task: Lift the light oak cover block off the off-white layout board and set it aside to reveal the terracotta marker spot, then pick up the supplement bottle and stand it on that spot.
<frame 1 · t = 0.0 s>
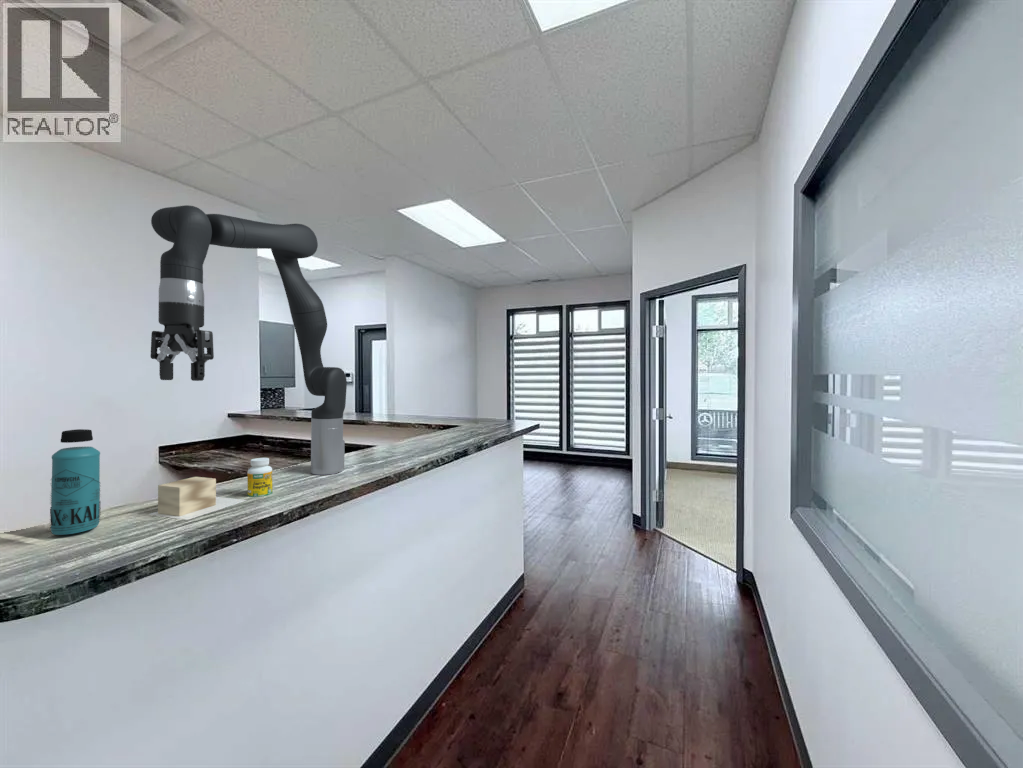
hand: (181, 380, 87), 29 cm above the countertop, tool pointing down, fingers open, 8 cm apart
layout board: (200, 510, 92), on the countertop
beverage bottle: (76, 537, 77), on the countertop
cover block: (187, 508, 91), point 1 cm above the countertop, touching layout board
supplement bottle: (260, 498, 103), on the countertop
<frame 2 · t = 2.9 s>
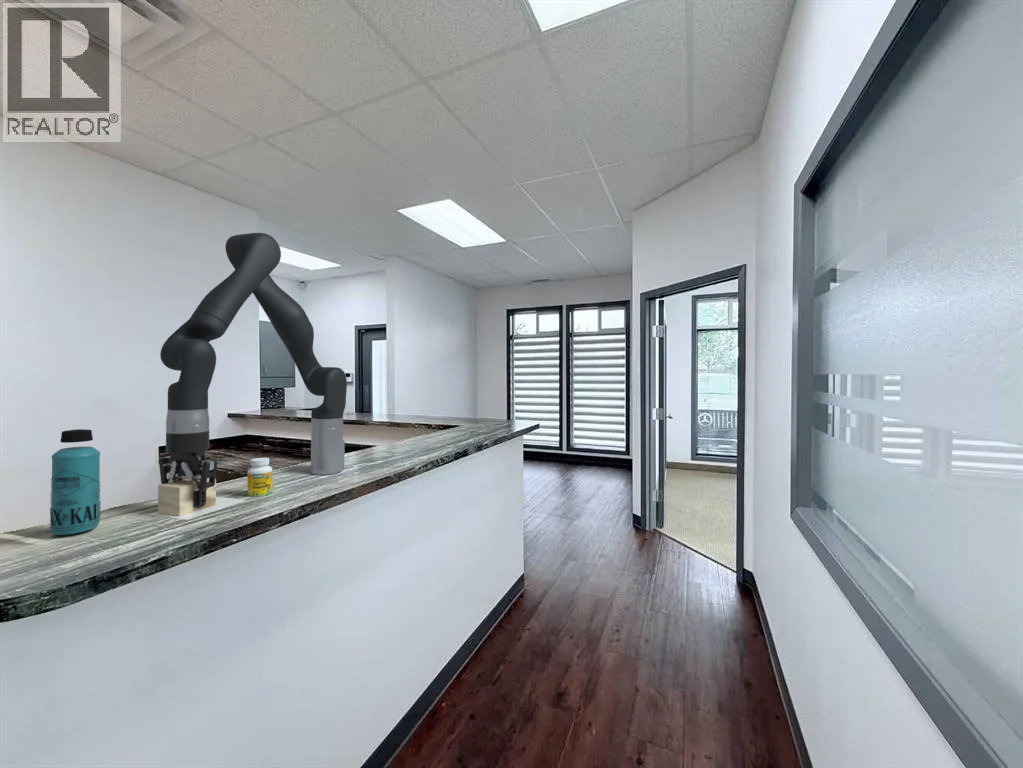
hand: (187, 505, 91), 2 cm above the countertop, tool pointing down, fingers closed on cover block, 6 cm apart
cover block: (187, 508, 91), point 1 cm above the countertop, touching gripper, layout board
everything else where it was.
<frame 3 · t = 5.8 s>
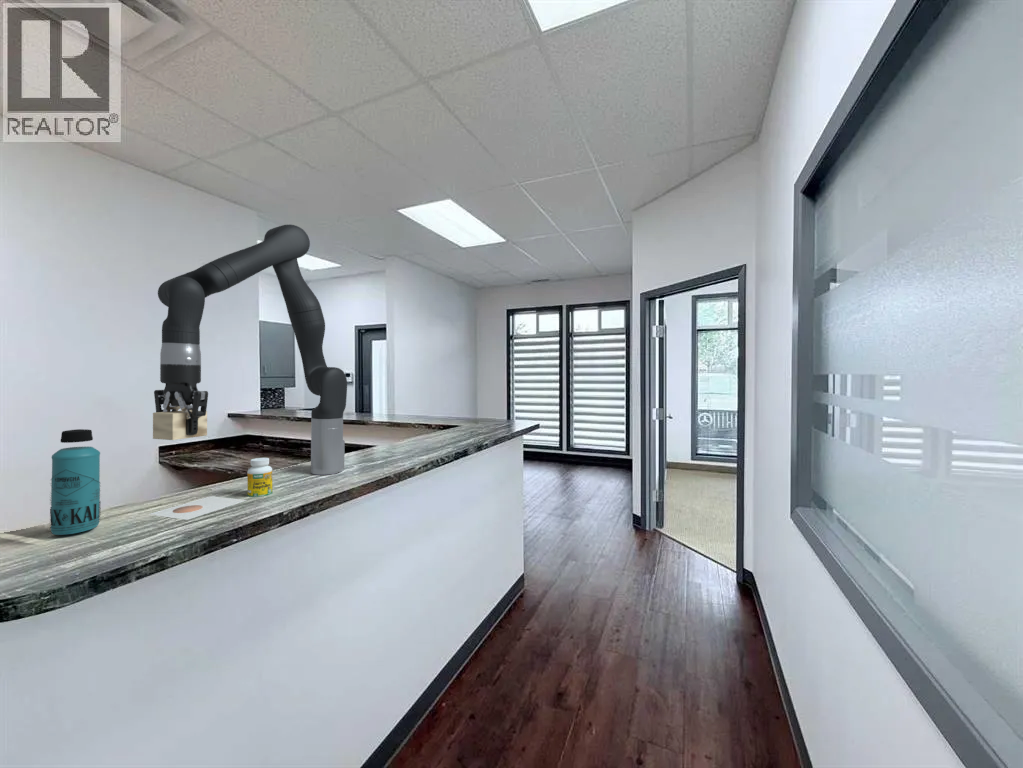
hand: (180, 433, 98), 16 cm above the countertop, tool pointing down, fingers closed on cover block, 6 cm apart
cover block: (180, 437, 98), point 16 cm above the countertop, touching gripper
everything else where it was.
when the fingers open (2 cm above the countertop, at t = 8.8 s): cover block drops 1 cm, on the countertop.
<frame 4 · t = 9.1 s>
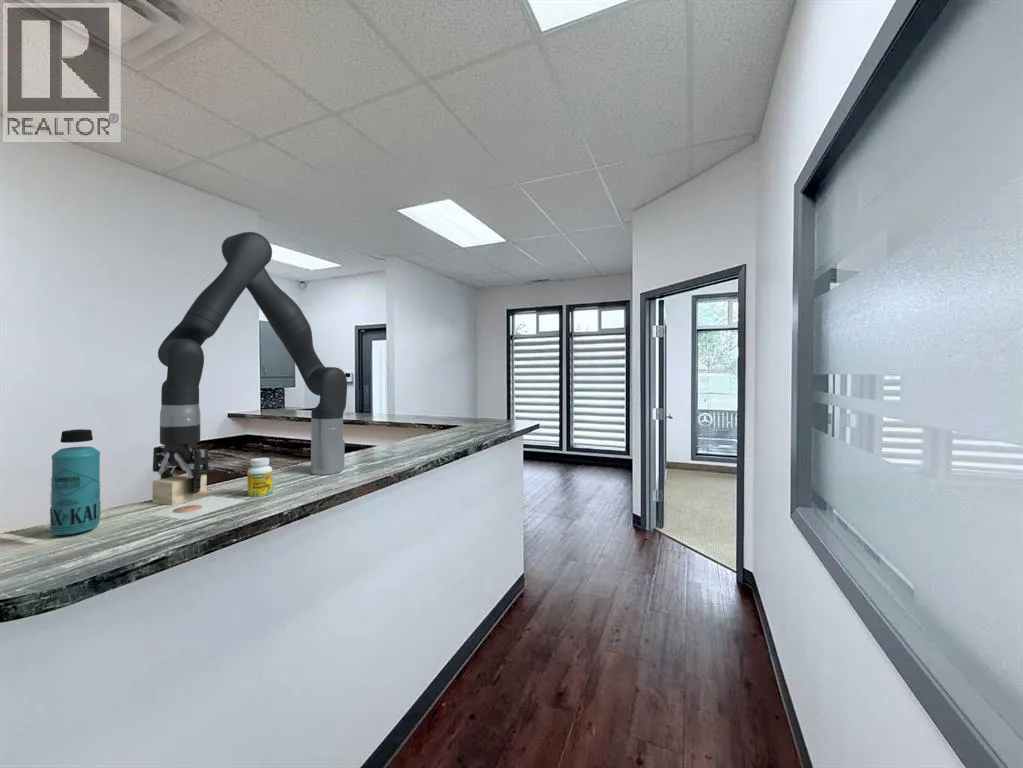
hand: (180, 491, 98), 3 cm above the countertop, tool pointing down, fingers open, 8 cm apart
cover block: (180, 502, 98), on the countertop
everything else where it was.
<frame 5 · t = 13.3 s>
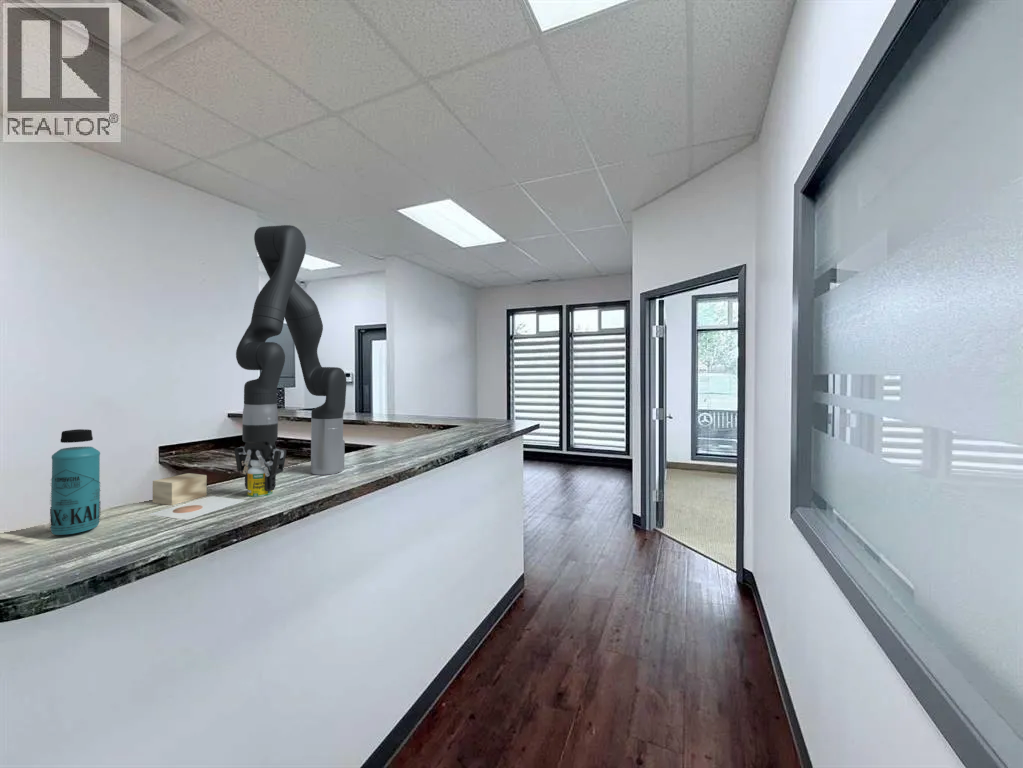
hand: (259, 489, 103), 2 cm above the countertop, tool pointing down, fingers closed on supplement bottle, 5 cm apart
supplement bottle: (260, 498, 103), on the countertop, touching gripper
everything else where it was.
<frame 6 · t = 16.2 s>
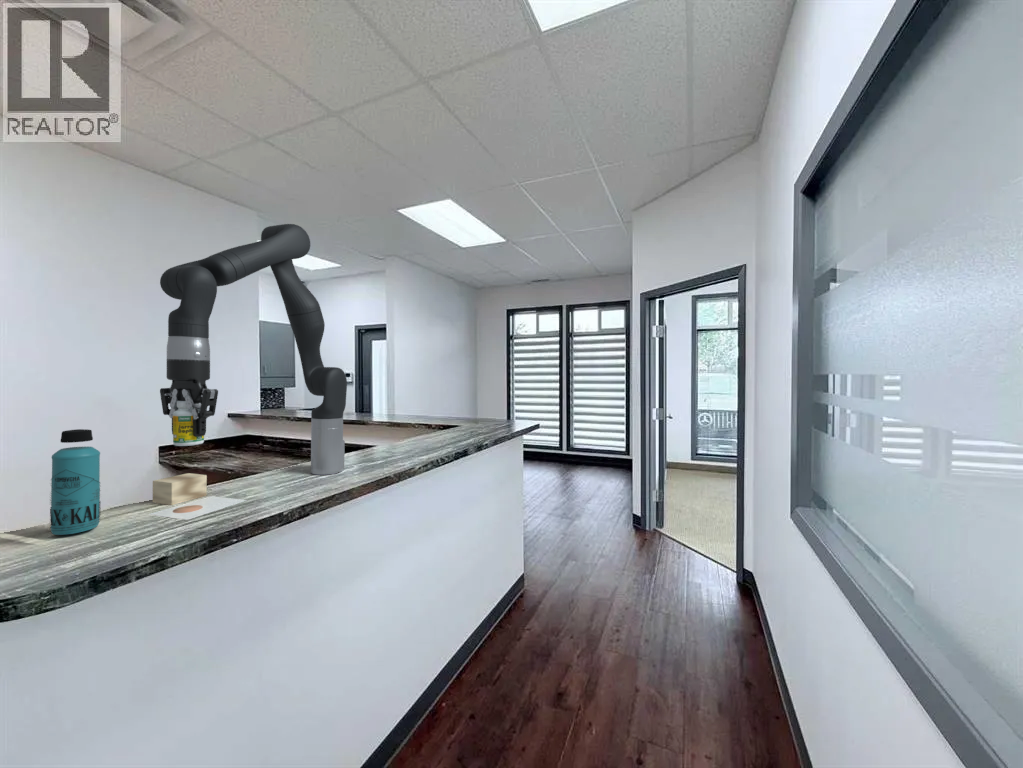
hand: (188, 435, 91), 17 cm above the countertop, tool pointing down, fingers closed on supplement bottle, 5 cm apart
supplement bottle: (188, 445, 91), point 15 cm above the countertop, touching gripper
everything else where it was.
when the fingers open (4 cm above the countertop, at t = 19.0 s): supplement bottle drops 1 cm, resting on layout board.
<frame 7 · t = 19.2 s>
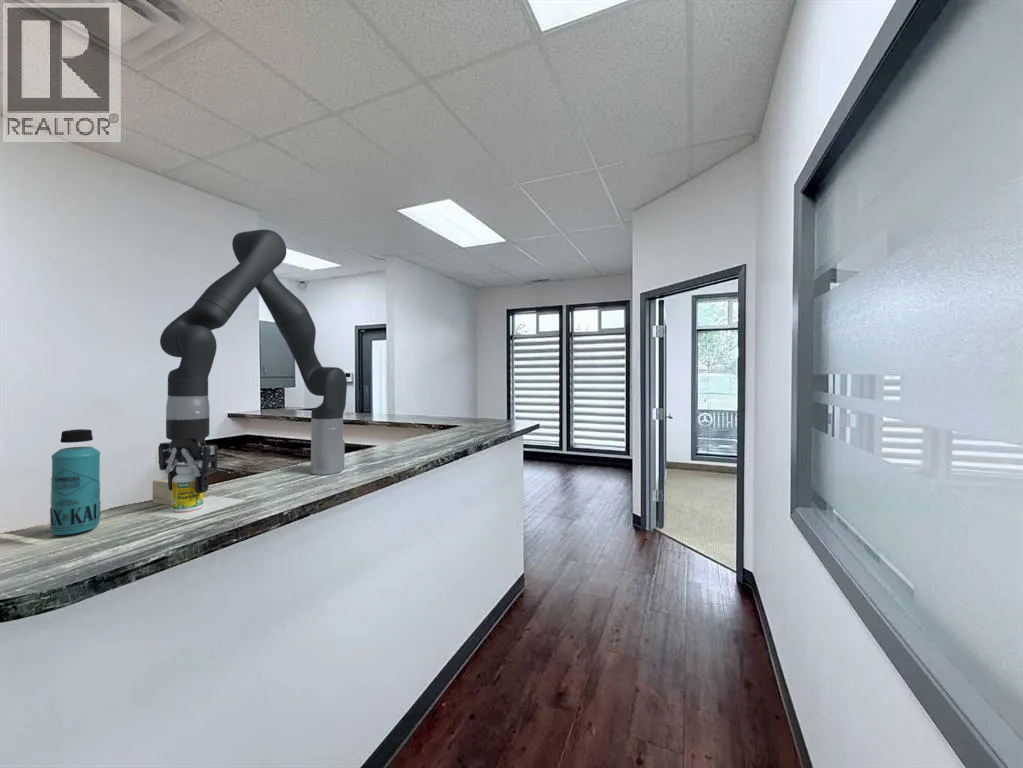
hand: (188, 490, 91), 5 cm above the countertop, tool pointing down, fingers open, 7 cm apart
supplement bottle: (187, 509, 91), point 1 cm above the countertop, touching layout board
everything else where it was.
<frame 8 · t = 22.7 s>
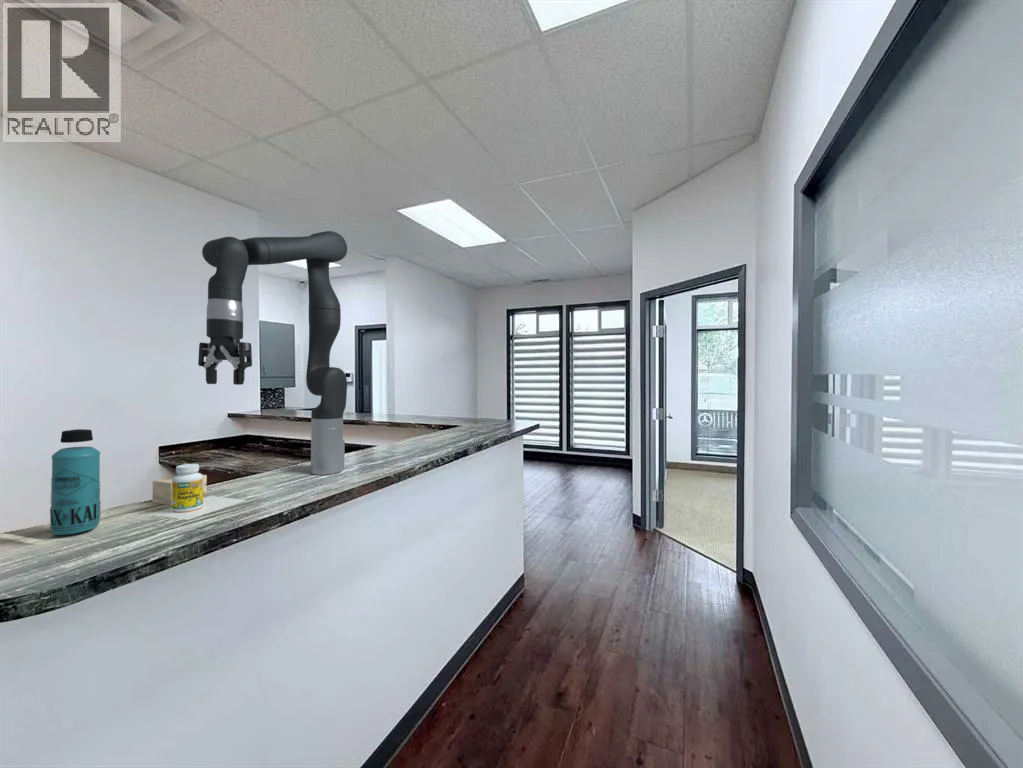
hand: (224, 384, 103), 28 cm above the countertop, tool pointing down, fingers open, 8 cm apart
nothing on the countertop moved.
at the end: supplement bottle 0.1 cm from the target spot on the layout board, point 0.7 cm above the layout board's base; supplement bottle tilted 0°; cover block moved 10.4 cm from its start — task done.
